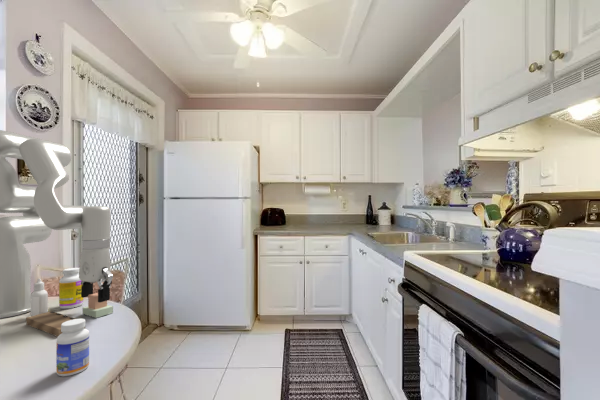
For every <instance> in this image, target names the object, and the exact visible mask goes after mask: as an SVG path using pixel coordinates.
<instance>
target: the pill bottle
mask: <svg viewBox="0 0 600 400" xmlns="http://www.w3.org/2000/svg"><path fill="white" fill-rule="evenodd" d="M84 327H85V329H84ZM61 332H62V334H60V335H59V336H56V347H55V348H56V359H55V360H56V364H55V366H56V369H55V370H56V375H57V376H59V377H70V376H73V375H76V374H78V373H81V372H84V371H85V370H86V369H87V368H88V367H90V330H88V329H87V328H86V319H85V318H76V319H73V320H69V321H66V322H64V323H62V324H61Z"/></svg>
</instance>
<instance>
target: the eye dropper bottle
mask: <svg viewBox="0 0 600 400" xmlns="http://www.w3.org/2000/svg"><path fill="white" fill-rule="evenodd" d="M46 312H49V294H48V291H47V290H46V289H45V281H44V282H43V281H42V279H41V278H40V277H39V278H37V280H36V282H35V283H33V291H32V292H31V311H30V317H31V316H35V315H39V314H42V313H46Z"/></svg>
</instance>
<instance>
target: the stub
mask: <svg viewBox="0 0 600 400" xmlns="http://www.w3.org/2000/svg"><path fill="white" fill-rule="evenodd" d="M87 300H88V303H87V306H84V307H83V306H82V309H81V310H82V315H84V314H85V315H86V316H88V315H89V316H88V317H91V316H92V317H91V318H95V319H96V318H101V317H103V316H107V315H110V314H113V313H114V306H113V305H111V304H110V305H109V304H108V300H107V301H104V302H98V292H95V293H93V294H91V295H88V297H87ZM85 315H84V316H85Z"/></svg>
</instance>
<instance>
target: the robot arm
mask: <svg viewBox="0 0 600 400" xmlns="http://www.w3.org/2000/svg"><path fill="white" fill-rule="evenodd" d="M7 158H11V159H18V160H23V161H24V163H25V165H26V167H27V168H28V170H29V172H30V174H31V176H32V177H33V179H34V181H35V182H36V184H37V187H34V186H25V185H21V184H20V181H19V177H18V173H17V171H16V169H15V167H14V166H13V165H12V164H11V163H10V161H8V160H7ZM72 159H73V158H72V152H71V151H70V149H69V148H68V147H67V146H66V145H64V144H62V143H59V142H54V141H49V140H46V139H43V138H42V139H41V138H38V137H34V136H30V135H29V136H28V135H24V134H20V133H17V132H11V131H8V130H3V129H2V130H1V129H0V214H22V215H20V216H19V215H18V216H17V215H15V216H14V215H11V216H3V217H2V216H1V217H0V319H3V318H9V317H15V316H20V315H23V314H26V313H29V312H30V313H31V293H32V292H31V291H32V290H31V289H32V285H31V283H32V282H31V278H32V277H31V255H30V253H29V252H30V251H28V250H27V248H26V246H25V244H33V243H39V242H44V241H46V240H48V239H49V237H50V236H51V235H52V231H53V230H54V231H62V230H63V231H64V230H76V229H78V230H79V229H81V252H80V259H79V267H78V268H79V279H80V280H81V297H82V298H83V299H84V298H88V295H91V294H94V284H96V283H97V285H98V286H97V287H99V288H98V289H97V293H98V302H104V301H107V302H108V301H110V298H111V297H110V296H111V294H110V293H111V288H112V287H111V285H112V282H113V277H114V275H113V273H112V272H111V271H112V270H111V254H110V249H111V214H112V213H111V209H110V208H109V207H108V206H104V205H103V206H102V205H101V206H99V205H96V206H93V205H92V206H89V205H67V204H66V205H65V204H64V205H63V204H62V205H61V203H60V202H59V200H58V198H57V196H56V193H55V190H56V189H58V188H61V187H62V186H64V185H65V184H66V183H68V182H69V180H70V176H69V173H68V172H67V169H66V168H65V167H67V166H68V165H70V163H71V161H72Z"/></svg>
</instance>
